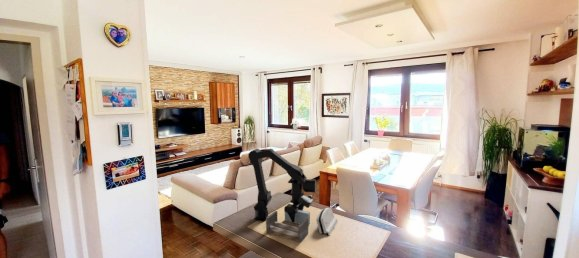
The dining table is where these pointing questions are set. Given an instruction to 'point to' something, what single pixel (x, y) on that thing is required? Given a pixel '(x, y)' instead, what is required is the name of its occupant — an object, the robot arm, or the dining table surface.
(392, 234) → the dining table surface
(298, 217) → the door panel
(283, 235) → the grey open box
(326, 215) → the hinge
